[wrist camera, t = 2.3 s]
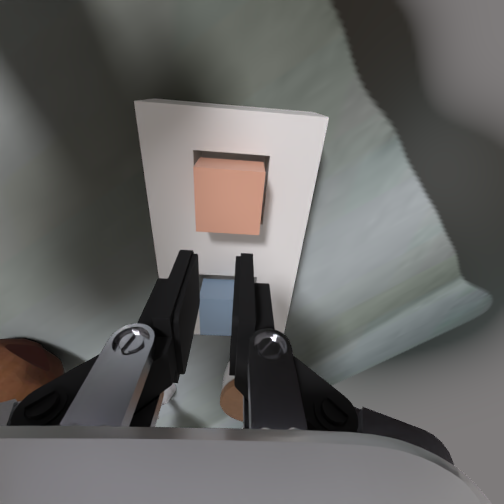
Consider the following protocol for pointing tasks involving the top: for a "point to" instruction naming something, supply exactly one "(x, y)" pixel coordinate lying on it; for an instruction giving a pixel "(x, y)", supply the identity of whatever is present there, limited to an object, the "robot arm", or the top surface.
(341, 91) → the top surface
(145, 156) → the key panel
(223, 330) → the slate-blue key
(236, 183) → the terracotta key
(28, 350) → the butternut squash
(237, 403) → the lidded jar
